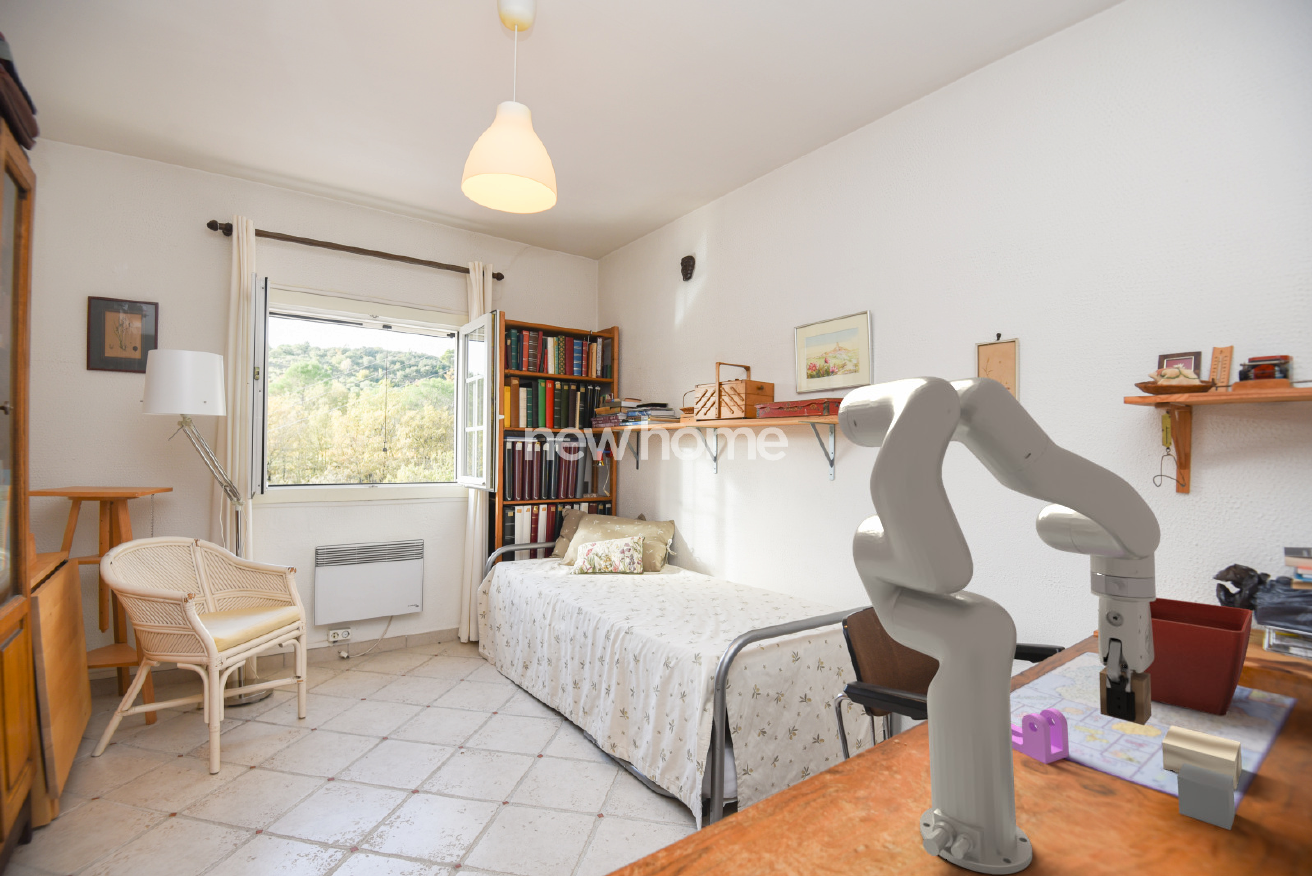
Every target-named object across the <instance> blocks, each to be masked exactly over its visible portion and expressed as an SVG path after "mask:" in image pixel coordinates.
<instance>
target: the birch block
mask: <svg viewBox="0 0 1312 876" xmlns="http://www.w3.org/2000/svg"><path fill="white" fill-rule="evenodd" d="M1170 725H1171V726H1170V727H1169V729H1168V731H1167V733H1166V734H1165V736H1164V738H1163V740H1162V741H1161V745H1162V746H1161V748H1162V763H1163V765H1162V766H1163V769H1164V770H1166V769H1167V770H1166V771H1170V770H1173V771H1175V772H1174V773H1177V774H1179V772H1180V770H1181V767H1182V765H1183V763H1186V764H1190V765H1193V766H1197V767H1201V768H1204V769H1208V770H1211V771H1215V772H1219V773H1222V774H1226V775H1229V776H1233V786H1234V790H1237V788H1238V785H1239V781H1240V778H1241V777H1240V776H1241V773H1242V771H1243V763H1242V762H1243V761H1242V745H1241V741H1238V740H1233V739H1229V738H1226V737H1221V736H1218V735H1217V736H1216V735H1213V734H1209V733H1205V732H1200V731H1197V730H1192V729H1189V728H1184V727H1180V726H1177V725H1172V724H1170ZM1173 771H1172V772H1173ZM1239 777H1240V778H1239ZM1238 780H1239V781H1238ZM1237 784H1238V785H1237Z"/></svg>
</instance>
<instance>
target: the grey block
mask: <svg viewBox="0 0 1312 876" xmlns="http://www.w3.org/2000/svg"><path fill="white" fill-rule="evenodd" d="M1176 776H1177V779H1176V780H1177V794H1178V811H1179V814H1180V815H1183V816H1185V817H1190V818H1193V819H1196V820H1198V821H1201V822H1205V823H1207V824H1211V825H1214V826H1217V827H1219V828H1221V829H1222V828H1223V829H1225V830H1229V831H1231V830H1232V826H1233V824H1234V819H1235V816H1236V805H1235V792H1234V791H1235V789H1234V786H1233V776H1229V775H1226V774H1222V773H1219V772H1215V771H1211V770H1208V769H1204V768H1201V767H1197V766H1193V765H1190V764H1186V763H1183V765H1182V767H1181V770H1180V772H1179V773H1177V775H1176Z"/></svg>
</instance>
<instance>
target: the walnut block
mask: <svg viewBox="0 0 1312 876" xmlns="http://www.w3.org/2000/svg"><path fill="white" fill-rule="evenodd" d="M1098 674H1099V702H1100V703H1099V707H1100V715H1104V716H1107V717H1110V718H1114V719H1118V720H1122V721H1126V722H1129V723H1133V724H1137V725H1141V726H1145V725H1146V723H1148V721H1149V720H1150V718H1151V717H1152V700H1151V681H1150V673H1145V672H1142V673H1136V670H1133V675H1132V692H1135V715H1136V719H1135V720H1134V721H1129V720H1125V719H1121V718H1117V717H1114V716H1110V715H1108V714H1107V701H1106V680H1107V666H1104V668H1103V669H1102V670H1100V671H1099V673H1098ZM1121 675H1124V677H1125V678H1126V673H1124V672H1121Z"/></svg>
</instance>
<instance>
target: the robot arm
mask: <svg viewBox="0 0 1312 876" xmlns="http://www.w3.org/2000/svg"><path fill="white" fill-rule="evenodd" d="M837 421H838V426H839V428H840V431H841V432H842V434H843V436H844V437H845V438H847V440H849V441H850V443H851V442H852V443H853V444H855V445H856V446H860V447H863V448H864V447H865V448H879V451H878V453H877V455H876V458H875V461H874V464H873V466H872V470H871V473H870V479H869V490H870V496H871V500H872V503H873V506H874V509H875V511H876V513H875V514H872V515H869V516H867V517H866V518H865V519H863V520H862V521H861V523H860V524H859V525H858V527H857V529H856V530H855V531H854V532H855V533H854V535H853V540H852V557H853V562H854V565H855V569H856V571H857V573H858V576H859V579H860V580H861V582H862V586H863V587H864V589H865V592H866V593H867V595H868V598H869V600H870V603H871V605H872V607H873V609H874V611H875V614H876V616H877V617H878V620H879V622H880V624H881V625H882V627H883V629H884V630H885V632H886V633H887V634H888V635H889V636H890V638H891V639H893V640H894V641H896V643H899V644H900V645H902V646H904V647H907V648H909V649H912V650H915V651H917V652H919V653H922V654H924V655H926V656H929V657H931V658H933V659H935V660H937V661H938V662H939V663H938V664H939V667H938V670H937V671H936V674H935V675H934V677H933V679H932V680H931V682H930V683H929V686H928V689H927V695H926V706H927V707H926V709H927V712H926V713H927V723H928V724H927V725H928V726H927V728H928V747H929V749H928V751H929V771H930V772H929V773H930V795H931V807H930V808H927V809H926V810H925V811H924V812H923V813H922V814H921V816H920V819H919V829H920V834H921V836H922V837H921V838H922V839H923V841H922V846H923V848H924V850H925V852H926V853H927V854H928V855H930V856H931V857H937V856H938V855H939V856H940V857H942V858H943V859H944V860H946V859H947V861H948V862H950V863H952V864H955V865H957V866H959V867H961V868H963V869H967V870H970V871H974V872H976V873H977V872H978V873H982V874H989V875H990V874H991V875H1011V874H1015V873H1018V872H1020V871H1023V870H1025V869H1026V868H1027V867H1029V865H1030V864H1031V862H1032V861H1033V847H1032V843H1031V841H1030V839H1029V837H1028V835H1027V834H1026V833H1025V832H1024V831H1023V830H1022V829H1021V828H1020V827H1019V826H1018V825H1017V816H1016V813H1017V812H1016V796H1015V795H1016V794H1015V774H1014V757H1013V756H1014V752H1013V750H1014V749H1013V748H1012V730H1011V723H1012V716H1011V715H1012V711H1011V683H1012V673H1013V666H1014V660H1015V655H1016V650H1017V649H1016V648H1017V638H1018V636H1017V635H1018V633H1017V627H1016V624H1015V622H1014V619H1013V617H1012V615H1011V614H1010V613H1009V612H1008V610H1007V609H1006V608H1004V607H1003V606H1002V605H1001V604H999V603H998V602H997V601H995V600H994V599H992V598H989V597H986V596H984V595H982V594H980V593H975V592H972V591H968V590H964V589H965V588H966V587H967V586H968V585H969V584H970V583H971V581H972V578H973V576H974V562H973V558H972V553H971V550H970V548H969V545H968V543H967V540H966V538H965V534H964V533H963V530H962V529H961V526H960V523H959V521H958V518H957V516H956V514H955V511H954V509H953V506H952V504H951V501H950V499H949V497H948V493H947V492H946V491H947V490H946V488H945V486H944V480H943V464H944V460H945V456H946V453H947V450H948V447H949V446H950V445H949V444H950V442H958V443H961V444H962V445H964V447H966V448H967V450H968V451H969V452H970V453H972V455H973V456H974V457H975V458H976V459H977V460H978V462H980V463H981V464H982V465H983V466H984V468H985V469H986V470H987V471H988V472H989V473H990V474H991V476H993V477H994V478H995V479H996V480H997V481H998V483H1000V484H1001V485H1002V486H1003V487H1005V488H1007V489H1010V490H1011V491H1014V492H1017V493H1019V494H1022V495H1025V496H1027V497H1030V498H1032V499H1037V500H1040V501H1044V502H1048V503H1049V504H1047V505H1046V506H1044V507H1043V508H1042V509H1041V510H1040V511H1039V512H1038V515H1037V517H1036V520H1035V529H1036V533H1037V535H1038V536H1039V539H1041V541H1042V542H1043V543H1044V544H1045V545H1047V546H1049V547H1050V548H1052V549H1055V550H1058V551H1061V552H1067V553H1071V554H1078V555H1079V554H1080V555H1086V556H1089V560H1090V561H1089V562H1090V563H1089V565H1090V567H1089V568H1090V573H1089V574H1090V593H1091V594H1092V595H1094V596H1096V597H1098V609H1097V611H1098V613H1097V616H1098V617H1097V618H1098V620H1097V622H1098V623H1097V627H1098V628H1097V629H1098V630H1097V632H1098V637H1097V639H1098V640H1097V641H1098V657H1099V661H1100V663H1101V664H1102V666H1104V667H1106V666H1107V680H1106V701H1107V714H1108V715H1110V716H1114V717H1117V718H1116V719H1118V718H1121V719H1125V720H1129V721H1134V720H1135V719H1136V715H1135V692H1132V675H1133V670H1136V673H1142V672H1143V671H1145V670H1146V669H1147V668H1148V667H1149V666H1150V665H1151V663H1152V662H1153V661H1154V645H1153V632H1152V620H1151V610H1150V604H1149V602H1150V601H1155V600H1156V598H1157V597H1156V596H1157V594H1156V593H1157V592H1156V590H1157V589H1156V562H1155V561H1156V560H1155V552H1156V551H1157V549H1158V547H1159V545H1160V543H1161V528H1160V524H1159V522H1158V518H1157V516H1155V515H1156V514H1155V513H1154V511H1153V510H1152V509H1151V507H1150V505H1148V503H1147V502H1146V501H1145V500H1144V498H1143V497H1142V495H1140V493H1139V492H1138V491H1137V490H1136V489H1135V488H1134V487H1133V486H1132V485H1131V484H1130V483H1129V481H1126V479H1124V478H1123V477H1121V476H1120V475H1118V474H1116V473H1115V472H1113V471H1111V470H1110V469H1108V468H1106V467H1104V466H1103V465H1099V464H1097V463H1096V462H1093V461H1091V460H1090V459H1087V458H1086V457H1083V456H1082V455H1080V454H1077V453H1076V452H1073V451H1070V450H1068V449H1065V448H1063V447H1062V446H1059V445H1058V444H1056V443H1055V441H1054V440H1052V438H1050V436H1049V435H1048V434H1047V432H1046V431H1045V430H1044V429H1043V428H1042V427H1041V426H1040V424H1038V423H1037V421H1036V420H1035V419H1034V418H1033V417H1032V415H1030V413H1029V412H1028V411H1027V409H1025V407H1024V406H1023V405H1022V404H1021V403H1020V402H1019V401H1018V399H1016V397H1015V396H1014V395H1013V394H1012V393H1011V391H1010V390H1009V389H1008V388H1007V387H1006V386H1005V385H1004V384H1003V383H1001V382H1000V381H998V380H996V379H994V378H990V377H983V376H982V377H981V376H979V377H978V376H977V377H976V376H975V377H974V376H973V377H967V378H960V379H955V380H949V381H948V380H946V379H944V378H941V377H936V376H914V377H908V378H901V379H896V380H891V381H886V382H881V383H875V384H869V385H864V386H860V387H857V388H855V389H853V390H851V391H850V392H848V394H846V396H844V398H843V399H842V401H841V402H840V405H839V408H838V411H837ZM1121 672H1124V673H1126V678H1125V677H1124V675H1121ZM1110 716H1109V717H1110ZM1114 717H1113V718H1114ZM1121 719H1120V720H1121ZM1125 720H1124V721H1125ZM1129 721H1128V722H1129Z"/></svg>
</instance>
